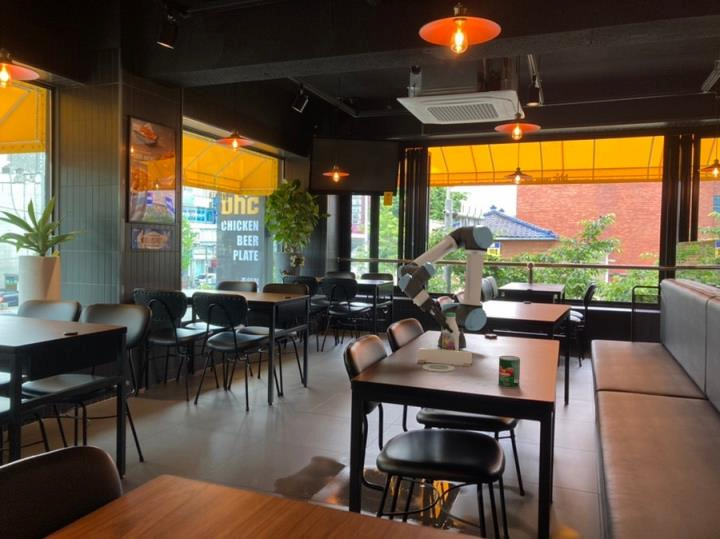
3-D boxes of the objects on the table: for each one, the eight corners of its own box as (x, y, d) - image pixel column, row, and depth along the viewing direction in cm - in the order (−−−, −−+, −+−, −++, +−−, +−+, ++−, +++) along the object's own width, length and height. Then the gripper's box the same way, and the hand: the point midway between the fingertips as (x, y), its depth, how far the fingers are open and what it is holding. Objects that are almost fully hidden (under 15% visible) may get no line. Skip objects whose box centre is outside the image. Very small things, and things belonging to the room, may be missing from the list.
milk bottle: (448, 352, 277) (449, 311, 276) (461, 354, 271) (462, 313, 270) (438, 354, 271) (439, 312, 270) (452, 357, 266) (452, 314, 265)
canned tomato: (497, 387, 217) (497, 358, 216) (499, 382, 224) (500, 354, 224) (518, 389, 214) (519, 360, 214) (520, 384, 221) (521, 356, 221)
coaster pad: (416, 366, 252) (416, 365, 252) (442, 364, 258) (442, 362, 258) (434, 373, 240) (434, 371, 240) (461, 370, 246) (461, 368, 246)
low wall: (417, 362, 262) (417, 349, 261) (421, 360, 267) (421, 347, 267) (469, 366, 253) (470, 353, 253) (472, 364, 259) (472, 351, 258)
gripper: (421, 304, 284) (453, 338, 281) (415, 308, 264) (450, 345, 261) (431, 294, 282) (464, 327, 279) (427, 297, 262) (462, 334, 259)
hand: (457, 336), depth 270 cm, fingers closed on milk bottle, 7 cm apart
